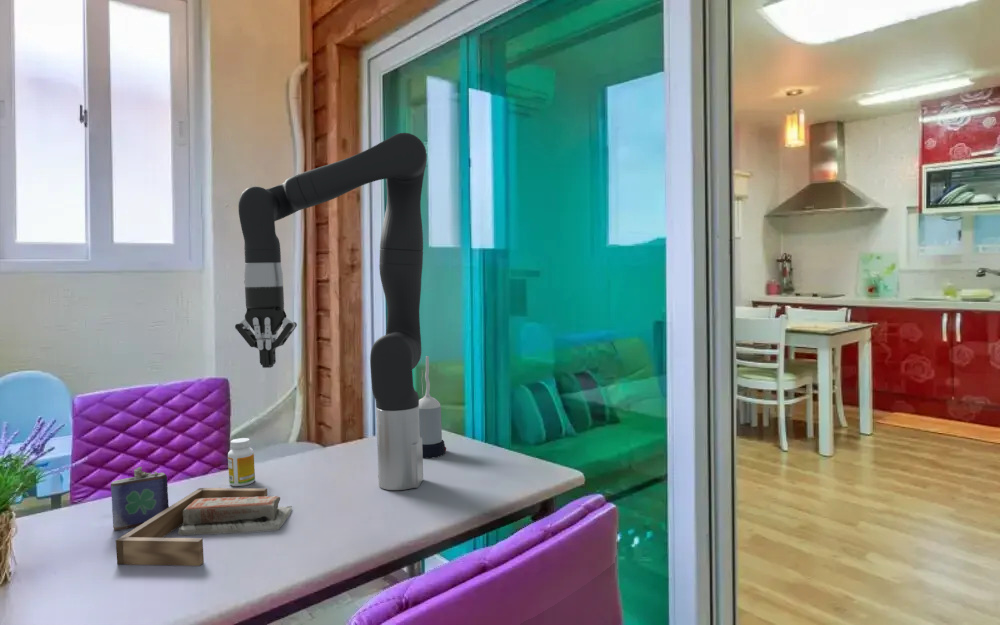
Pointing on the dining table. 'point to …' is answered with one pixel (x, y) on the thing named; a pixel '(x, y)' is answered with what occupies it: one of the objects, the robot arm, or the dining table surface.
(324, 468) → the dining table surface
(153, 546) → the frame
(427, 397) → the humidifier
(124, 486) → the flask
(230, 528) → the packaged product
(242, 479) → the supplement bottle
